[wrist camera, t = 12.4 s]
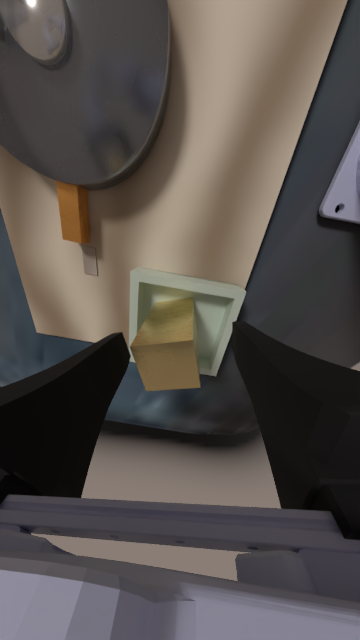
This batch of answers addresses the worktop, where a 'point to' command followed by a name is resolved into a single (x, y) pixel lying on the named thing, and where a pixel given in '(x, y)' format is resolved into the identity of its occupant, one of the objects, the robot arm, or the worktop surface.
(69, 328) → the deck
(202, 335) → the tray
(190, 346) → the block
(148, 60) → the crank
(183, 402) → the worktop surface
